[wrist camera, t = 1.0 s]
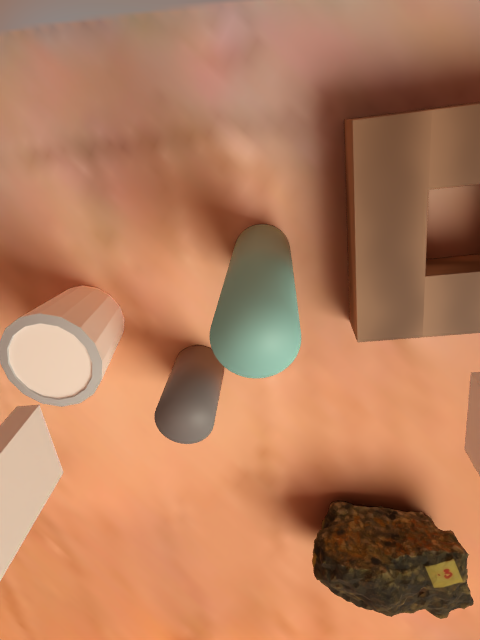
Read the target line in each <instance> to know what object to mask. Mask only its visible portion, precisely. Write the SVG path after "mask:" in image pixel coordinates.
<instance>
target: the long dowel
mask: <svg viewBox="0 0 480 640" xmlns="http://www.w3.org/2000/svg"><path fill="white" fill-rule="evenodd" d="M210 344H211V348H212V350H213V353H214V355H215V356H216V358H217V359H218V361H219V362H220V363H221V364H222V365H223V366H224V367H225V368H227V369H228V370H230V371H231V372H233V373H235V374H237V375H240V376H243V377H248V378H265V377H269V376H273V375H275V374H277V373H279V372H281V371H283V370H284V369H286V368H287V367H288V366H289V365H290V364H291V363H292V362H293V361H294V359H295V358H296V356H297V354H298V352H299V349H300V345H301V330H300V322H299V315H298V307H297V299H296V291H295V283H294V275H293V267H292V259H291V251H290V245H289V242H288V239H287V238H286V236H285V235H284V233H283V232H282V231H281V230H279V229H278V228H276V227H274V226H271V225H268V224H257V225H253V226H251V227H249V228H247V229H246V230H244V231H243V232H242V233H241V234H240V236H239V237H238V239H237V241H236V244H235V247H234V250H233V254H232V257H231V260H230V264H229V267H228V271H227V274H226V277H225V281H224V284H223V288H222V291H221V294H220V298H219V301H218V305H217V308H216V311H215V315H214V318H213V322H212V325H211V329H210Z"/></svg>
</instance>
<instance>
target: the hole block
mask: <svg viewBox="0 0 480 640" xmlns="http://www.w3.org/2000/svg"><path fill="white" fill-rule="evenodd" d="M344 137H345V172H346V206H347V241H348V276H349V310H350V323H351V326H352V329H353V331H354V334H355V337H356V339H357V342H367V341H380V340H393V339H406V338H419V337H432V336H445V335H458V334H471V333H480V254H476V255H465V256H455V257H444V258H434V259H426V245H427V220H428V196H429V190H431V189H440V188H449V187H458V186H467V185H476V184H480V102H477V103H469V104H461V105H454V106H446V107H438V108H430V109H423V110H415V111H407V112H400V113H392V114H384V115H376V116H369V117H361V118H353V119H346V120H344Z"/></svg>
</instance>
